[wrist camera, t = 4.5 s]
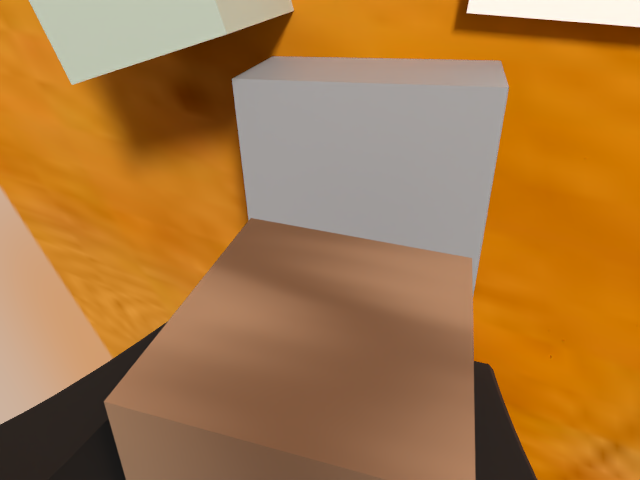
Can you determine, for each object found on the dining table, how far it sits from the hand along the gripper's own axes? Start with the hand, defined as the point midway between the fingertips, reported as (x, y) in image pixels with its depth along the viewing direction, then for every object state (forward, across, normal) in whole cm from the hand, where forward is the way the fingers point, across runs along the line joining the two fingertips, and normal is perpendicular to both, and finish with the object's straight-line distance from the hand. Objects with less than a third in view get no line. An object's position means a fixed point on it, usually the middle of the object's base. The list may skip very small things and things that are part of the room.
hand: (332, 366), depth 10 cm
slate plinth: (+9, 0, -1) cm, 9 cm away
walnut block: (+2, 0, 0) cm, 2 cm away
